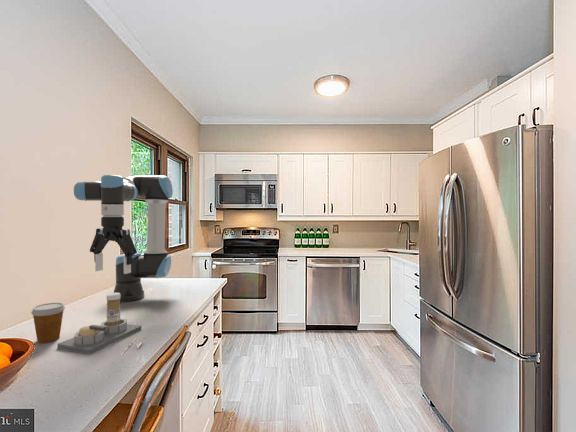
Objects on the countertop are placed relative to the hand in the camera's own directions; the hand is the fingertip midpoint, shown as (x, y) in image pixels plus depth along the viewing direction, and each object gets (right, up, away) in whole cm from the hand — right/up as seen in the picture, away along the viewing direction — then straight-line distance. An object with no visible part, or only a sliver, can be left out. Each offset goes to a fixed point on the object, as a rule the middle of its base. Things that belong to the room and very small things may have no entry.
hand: (113, 271), depth 120 cm
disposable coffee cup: (-19, -23, -8) cm, 30 cm away
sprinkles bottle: (+1, -21, -2) cm, 22 cm away
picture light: (+14, -24, -13) cm, 31 cm away
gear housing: (0, -23, -6) cm, 24 cm away
